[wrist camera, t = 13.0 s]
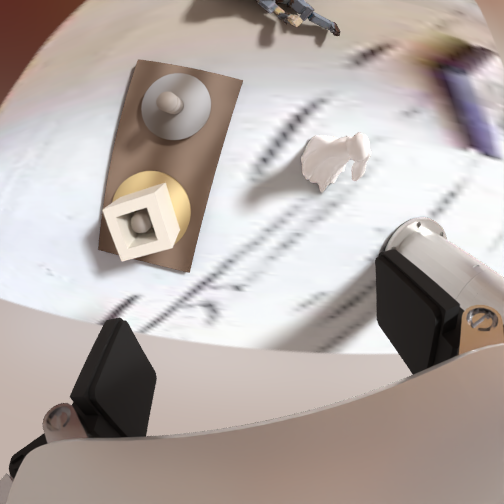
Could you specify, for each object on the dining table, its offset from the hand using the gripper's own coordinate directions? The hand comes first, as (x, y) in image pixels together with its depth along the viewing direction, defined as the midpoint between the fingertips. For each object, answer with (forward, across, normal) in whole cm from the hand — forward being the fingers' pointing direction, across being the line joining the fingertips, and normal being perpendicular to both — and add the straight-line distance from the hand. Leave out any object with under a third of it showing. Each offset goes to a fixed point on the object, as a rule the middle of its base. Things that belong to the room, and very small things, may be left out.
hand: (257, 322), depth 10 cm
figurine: (+29, -12, 0) cm, 31 cm away
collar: (+26, +10, 0) cm, 28 cm away
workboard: (+28, +8, -4) cm, 30 cm away
